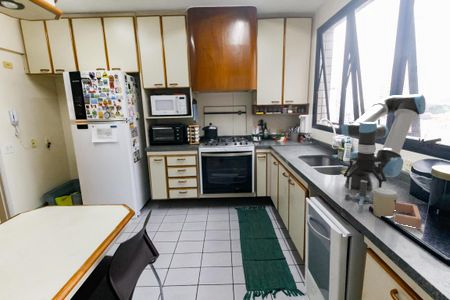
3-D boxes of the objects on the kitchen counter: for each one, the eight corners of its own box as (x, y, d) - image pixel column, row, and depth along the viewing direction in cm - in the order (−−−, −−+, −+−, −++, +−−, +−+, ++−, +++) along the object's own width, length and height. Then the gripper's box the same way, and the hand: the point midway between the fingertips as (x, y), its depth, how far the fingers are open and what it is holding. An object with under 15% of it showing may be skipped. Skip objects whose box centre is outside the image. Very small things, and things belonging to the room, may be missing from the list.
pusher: (356, 198, 125) (357, 179, 123) (369, 201, 122) (370, 181, 120) (353, 211, 111) (354, 190, 109) (367, 214, 108) (369, 192, 106)
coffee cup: (399, 219, 102) (402, 195, 100) (376, 218, 104) (378, 194, 102) (389, 210, 111) (391, 187, 109) (368, 209, 113) (369, 187, 111)
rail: (345, 197, 128) (346, 192, 127) (403, 207, 113) (404, 202, 113) (345, 199, 126) (345, 194, 125) (404, 209, 111) (404, 203, 111)
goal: (393, 209, 112) (394, 201, 111) (415, 213, 107) (416, 204, 106) (394, 224, 99) (395, 214, 98) (420, 229, 94) (421, 219, 93)
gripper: (339, 151, 121) (337, 189, 125) (395, 155, 107) (391, 197, 111) (341, 149, 127) (339, 185, 131) (394, 152, 113) (390, 192, 118)
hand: (363, 191), depth 121 cm, fingers open, 12 cm apart
